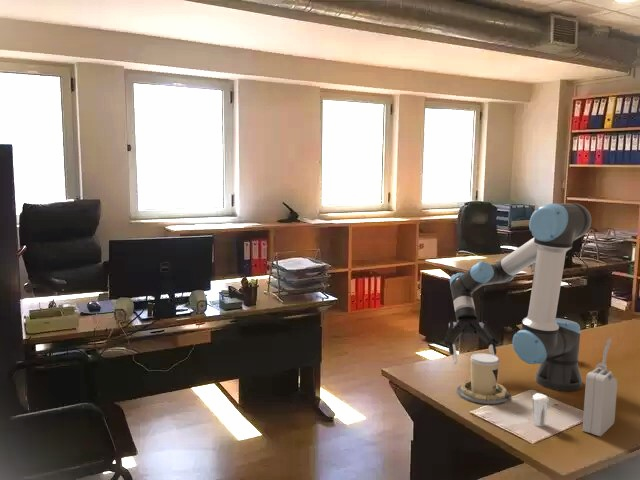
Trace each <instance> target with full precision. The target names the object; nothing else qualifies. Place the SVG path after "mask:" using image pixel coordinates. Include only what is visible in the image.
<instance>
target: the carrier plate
mask: <svg viewBox="0 0 640 480" xmlns="http://www.w3.org/2000/svg"><path fill="white" fill-rule="evenodd" d="M456 393H457V395H458V396H459V397H460V398H462V399H463V400H465V401H468V402H471V403H474V404H478V405H487V406H494V405H502V404H505V403H508V402H509V401H510V398H511V394H510V393H509V391H508V390H507V388H506V387H505V386H504V385H502V384H500V383H498V382H497V383H496V391H495V394H494V395H483V394H477V393H474V392H472V389H471V379H468V380H465V381H463V382H462V383H461V384H460V385H459V386H457V389H456Z"/></svg>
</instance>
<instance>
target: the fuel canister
mask: <svg viewBox="0 0 640 480" xmlns="http://www.w3.org/2000/svg"><path fill="white" fill-rule="evenodd" d="M611 341H612V338H608V337H607V339H606V342H605V345H604V349H603V355H602V359H601V362H598V364H597V365H595V369H593V370H592V371H589V372H588V373H587V374H586V376H585V377H586V378H585V390H584V404H583V418H582V432H585V433H589V434H592V435H594V436H597V437H602V436H603V435H604V434H605V432H607V431H608V430H609V429H610V428H611V427H612V426H613V425H614V424H615V419H616V406H617V393H618V379H617V377H614V375H613V371H610V370H609V369H608V366H607V365H608V364H607V358H608V352H609V350H610V345H611Z"/></svg>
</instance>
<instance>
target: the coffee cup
mask: <svg viewBox="0 0 640 480" xmlns="http://www.w3.org/2000/svg"><path fill="white" fill-rule="evenodd" d="M469 358H470V380H471V389H472V392H474V393H477V394H483V395H494V394H495V391H496V383H498V374H499V366H500V360H499V357H498V356H496V355H495V356H494V355H491V354H490V353H486V352H485V353H484V352H482V353H481V352H478V353H473V354H472V355H471V356H470V357H469Z"/></svg>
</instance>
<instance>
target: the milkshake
mask: <svg viewBox="0 0 640 480" xmlns="http://www.w3.org/2000/svg"><path fill="white" fill-rule="evenodd" d="M530 394H531V398H532V420H533V421H532V423H533V425H534V426H536V427H544V426H546V420H547V414H548V407H549V402H550V398H549V397H548V396H547V395H546V394H543V393H534V394H533V393H532V392H530Z"/></svg>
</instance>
